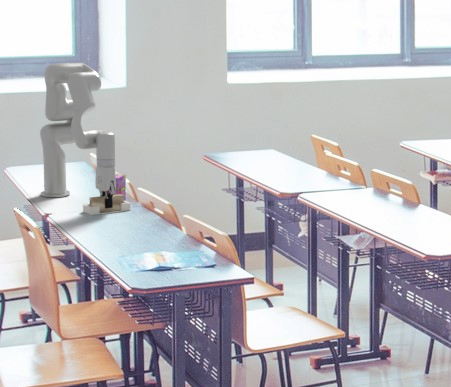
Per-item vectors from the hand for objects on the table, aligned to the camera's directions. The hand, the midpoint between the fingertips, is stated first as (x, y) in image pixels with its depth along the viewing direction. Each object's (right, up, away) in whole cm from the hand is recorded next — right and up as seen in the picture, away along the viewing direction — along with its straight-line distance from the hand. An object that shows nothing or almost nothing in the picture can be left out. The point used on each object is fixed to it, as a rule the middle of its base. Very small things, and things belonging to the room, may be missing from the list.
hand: (106, 206), depth 415 cm
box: (+2, +1, +17) cm, 17 cm away
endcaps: (0, -2, 0) cm, 2 cm away
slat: (0, -2, 0) cm, 2 cm away
